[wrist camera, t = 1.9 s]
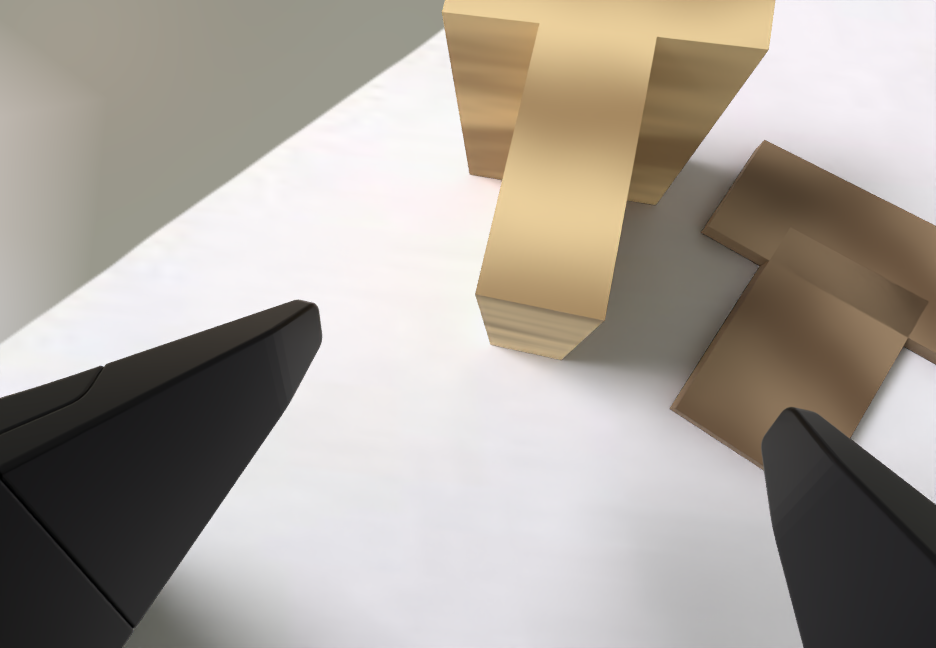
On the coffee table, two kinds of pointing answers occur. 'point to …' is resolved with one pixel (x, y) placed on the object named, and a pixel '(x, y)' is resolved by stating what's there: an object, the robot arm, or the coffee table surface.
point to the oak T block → (584, 137)
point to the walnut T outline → (810, 301)
